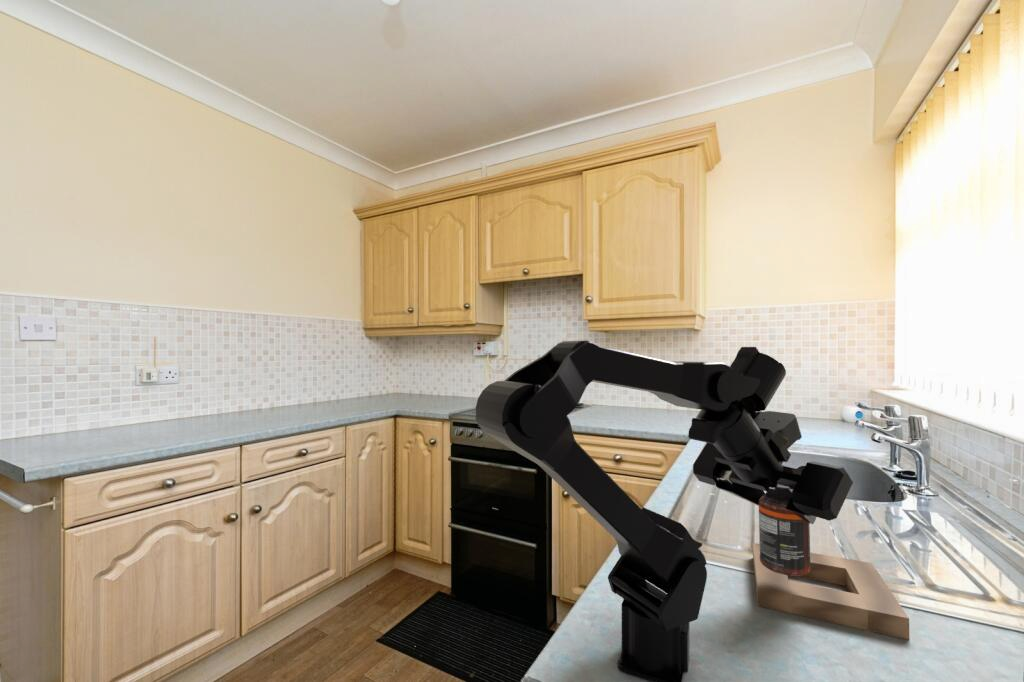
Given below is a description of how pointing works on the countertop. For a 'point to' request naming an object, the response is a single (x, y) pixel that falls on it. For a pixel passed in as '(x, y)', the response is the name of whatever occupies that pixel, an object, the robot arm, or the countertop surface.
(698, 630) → the countertop surface
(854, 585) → the square wooden frame
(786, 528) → the supplement bottle
